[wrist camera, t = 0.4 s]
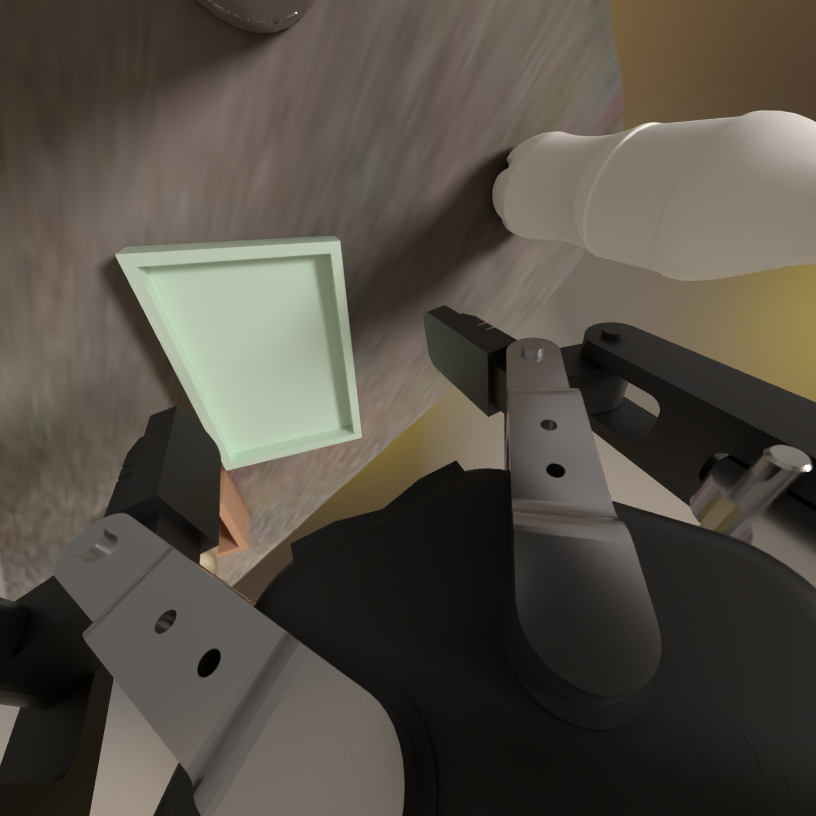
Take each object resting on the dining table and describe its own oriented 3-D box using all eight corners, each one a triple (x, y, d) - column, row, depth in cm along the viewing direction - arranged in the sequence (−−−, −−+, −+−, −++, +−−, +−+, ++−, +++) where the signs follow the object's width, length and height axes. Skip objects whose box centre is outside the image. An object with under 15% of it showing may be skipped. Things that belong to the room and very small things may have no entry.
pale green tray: (126, 246, 21) (114, 254, 19) (333, 235, 25) (340, 241, 24) (227, 453, 34) (226, 470, 32) (356, 424, 38) (361, 437, 36)
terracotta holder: (132, 488, 32) (116, 531, 28) (225, 466, 34) (222, 502, 31) (171, 534, 37) (161, 575, 34) (249, 512, 40) (249, 548, 36)
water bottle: (492, 247, 31) (845, 372, 12) (474, 163, 26) (1008, 163, 8) (555, 207, 31) (1001, 275, 12) (548, 116, 26) (1265, 2, 8)
